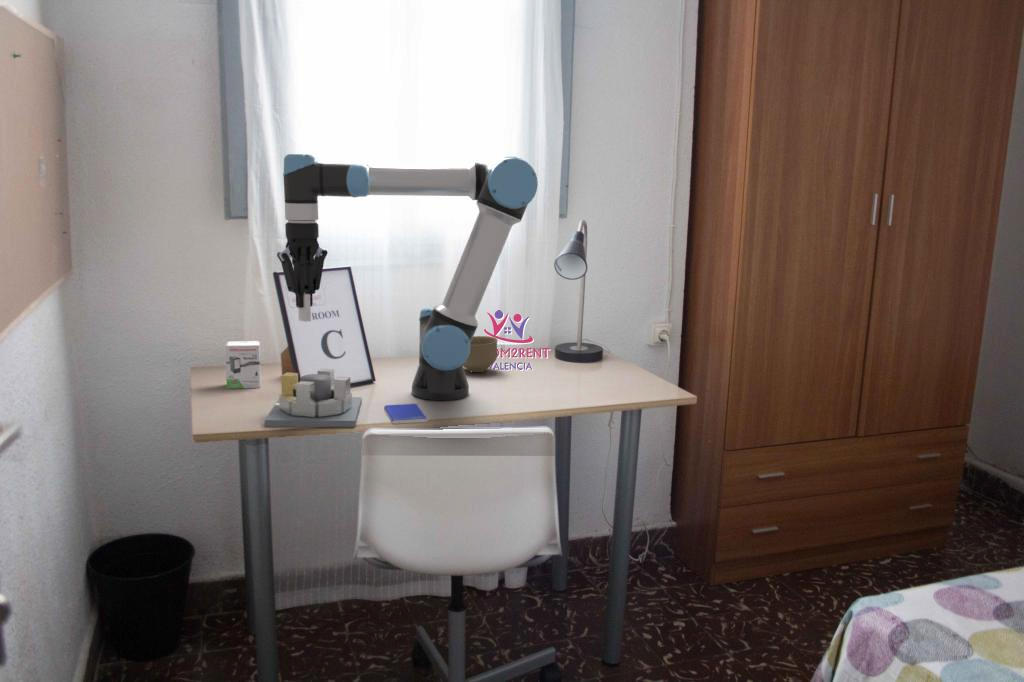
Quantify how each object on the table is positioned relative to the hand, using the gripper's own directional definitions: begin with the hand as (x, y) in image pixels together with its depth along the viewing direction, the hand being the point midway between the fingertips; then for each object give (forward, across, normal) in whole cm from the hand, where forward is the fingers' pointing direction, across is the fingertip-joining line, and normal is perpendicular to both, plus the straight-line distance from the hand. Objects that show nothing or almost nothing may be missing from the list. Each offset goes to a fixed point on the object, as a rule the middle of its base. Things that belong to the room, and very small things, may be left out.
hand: (304, 320), depth 196 cm
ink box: (+22, 0, -27) cm, 35 cm away
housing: (+22, +2, +6) cm, 23 cm away
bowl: (+23, -59, +2) cm, 63 cm away
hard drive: (+23, -13, +21) cm, 34 cm away
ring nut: (+20, +2, +6) cm, 21 cm away
